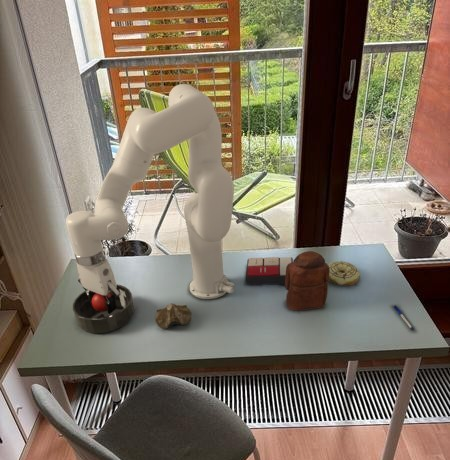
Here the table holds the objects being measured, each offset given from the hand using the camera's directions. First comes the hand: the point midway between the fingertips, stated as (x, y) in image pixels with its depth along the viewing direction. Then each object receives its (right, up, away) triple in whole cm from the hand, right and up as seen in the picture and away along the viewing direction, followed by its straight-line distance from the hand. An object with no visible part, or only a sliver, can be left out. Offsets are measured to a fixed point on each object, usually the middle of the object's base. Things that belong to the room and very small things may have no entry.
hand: (103, 307), depth 128 cm
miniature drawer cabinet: (+51, +10, +15) cm, 53 cm away
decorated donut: (+73, +9, +11) cm, 75 cm away
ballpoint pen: (+86, -3, -6) cm, 86 cm away
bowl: (0, -3, +2) cm, 3 cm away
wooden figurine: (+59, +1, +1) cm, 60 cm away
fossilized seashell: (+21, -4, -2) cm, 22 cm away
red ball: (0, +2, -1) cm, 2 cm away
